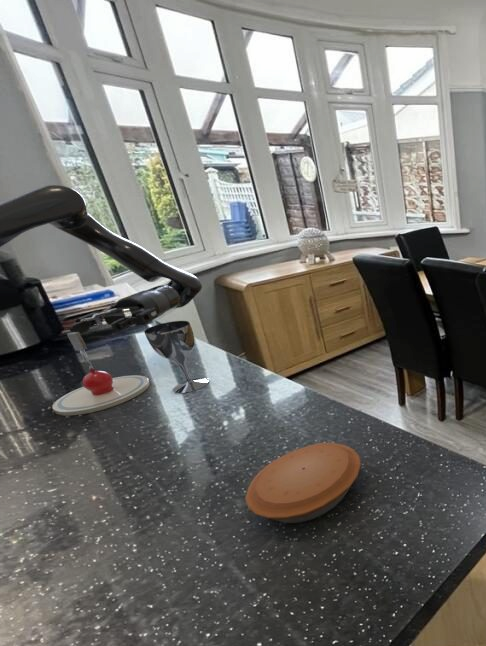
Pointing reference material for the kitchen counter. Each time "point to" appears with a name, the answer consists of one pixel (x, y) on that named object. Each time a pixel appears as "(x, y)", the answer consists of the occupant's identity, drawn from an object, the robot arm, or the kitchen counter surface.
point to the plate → (101, 396)
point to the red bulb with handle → (91, 369)
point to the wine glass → (175, 349)
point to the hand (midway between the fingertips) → (93, 329)
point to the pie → (303, 483)
